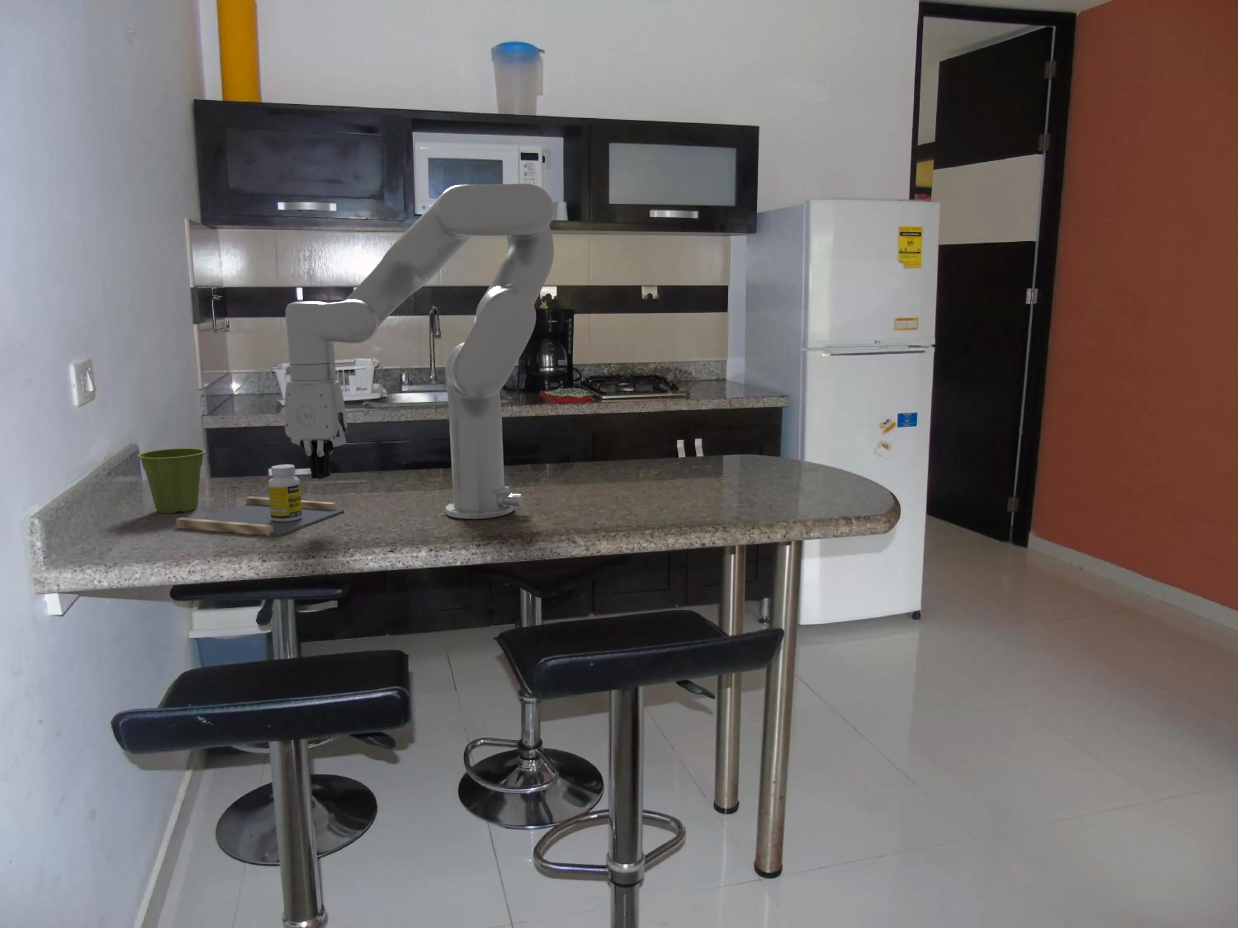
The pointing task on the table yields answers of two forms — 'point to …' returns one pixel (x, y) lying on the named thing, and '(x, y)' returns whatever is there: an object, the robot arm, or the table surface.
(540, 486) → the table surface
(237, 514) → the mat
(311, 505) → the strip right
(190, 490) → the plant pot
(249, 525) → the strip left
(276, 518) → the supplement bottle
